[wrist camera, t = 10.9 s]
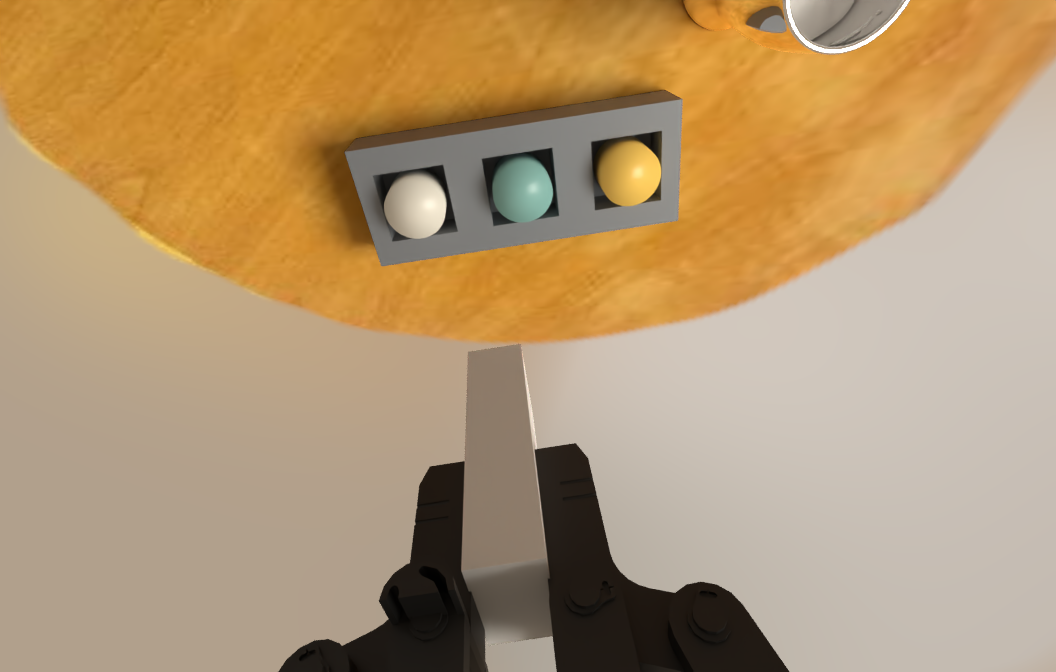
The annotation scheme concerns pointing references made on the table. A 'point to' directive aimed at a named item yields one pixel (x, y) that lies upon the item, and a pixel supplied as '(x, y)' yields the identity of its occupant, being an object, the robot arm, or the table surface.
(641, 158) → the button amber
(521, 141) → the console
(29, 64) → the table surface
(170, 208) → the table surface
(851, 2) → the beer glass
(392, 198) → the button ivory
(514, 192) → the button teal
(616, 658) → the robot arm
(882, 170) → the table surface
